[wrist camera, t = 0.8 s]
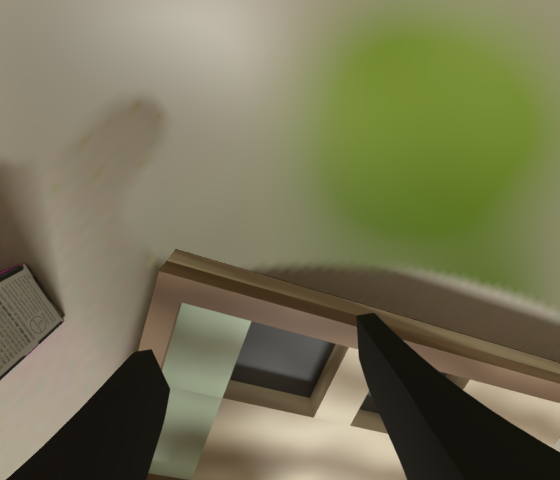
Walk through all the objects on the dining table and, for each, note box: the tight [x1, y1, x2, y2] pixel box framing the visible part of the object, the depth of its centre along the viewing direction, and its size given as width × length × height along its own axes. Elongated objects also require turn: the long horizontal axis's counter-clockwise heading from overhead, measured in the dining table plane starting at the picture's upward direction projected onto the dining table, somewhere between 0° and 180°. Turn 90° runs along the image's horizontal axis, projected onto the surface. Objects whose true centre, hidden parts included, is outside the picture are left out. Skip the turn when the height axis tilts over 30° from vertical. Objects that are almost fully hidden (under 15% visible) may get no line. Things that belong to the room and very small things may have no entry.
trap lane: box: [138, 249, 560, 480], centre depth 23 cm, size 19×34×4 cm, turn 70°
